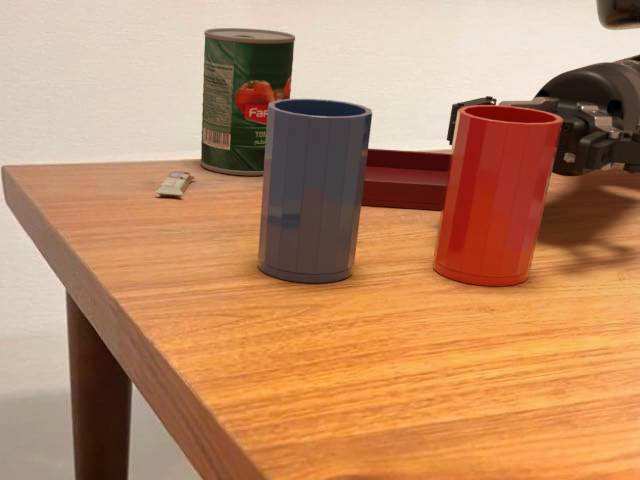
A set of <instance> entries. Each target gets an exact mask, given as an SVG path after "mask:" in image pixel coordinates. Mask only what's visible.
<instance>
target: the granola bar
mask: <svg viewBox="0 0 640 480" xmlns="http://www.w3.org/2000/svg"><path fill="white" fill-rule="evenodd" d="M195 179H196V177H195V176H193V175H191V173H190V172H186V171H171V172H170V173H169V174H168V176H167V177H166V178H165V179H164V181H163V182H162V183H161V185H160V187H159V188H158V189H157V190H155V192H154V193H155V194H158V195H160V196H161V197H169V196H175V197H174V198H181V197H182V196H184V193H185V191H186V190H187V188H188V187H189V185H190V184H191V181H193V180H195ZM189 183H190V184H189ZM187 186H188V187H187ZM185 189H186V190H185ZM183 192H184V193H183ZM181 195H182V196H181Z"/></svg>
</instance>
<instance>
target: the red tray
mask: <svg viewBox="0 0 640 480" xmlns="http://www.w3.org/2000/svg"><path fill="white" fill-rule="evenodd" d="M450 155H451V153H444V152H432V151H431V152H429V151H414V150H399V149H385V148H369V147H368V154H367V162H366V170H365V179H364V187H363V195H362V203H361V206H369V207H383V208H395V209H396V208H397V209H410V210H411V209H413V210H426V211H441V209H442V203H443V197H444V191H445V185H446V179H447V173H448V167H449V161H450Z"/></svg>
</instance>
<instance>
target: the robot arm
mask: <svg viewBox="0 0 640 480" xmlns="http://www.w3.org/2000/svg"><path fill="white" fill-rule="evenodd" d="M595 3H596V4H595V5H596V13H597V18H598V21H599V23H600V25H601V27H602V28H604V29H606V30H610V31H623V30H624V31H625V30H633V29H634V30H635V29H640V0H595ZM497 101H498V99H497V98H494V97H493V96H491V95H486V96H485V97H479V98H475V99H470V100H467V101H461V102H457V103H453V104H451V111H450V116H449V122H448V129H447V135H446V141H447V142H448V145H449V146H452V143H453V137H454V131H455V125H456V119H457V113H458V109H460V108H462V107H466V106H474V105H499V106H511V107H512V106H513V107H521V108H529V109H535V110H540V111H545V112H549V113H552V114H555V115H558V116H560V117H561V118H562V119H563V124H562V129H561V133H560V138H559V142H558V147H557V151H556V156H555V160H554V165H553V169H552V173H553V174H555V175H558V176H562V177H579V176H585V175H588V174H590V173H593V172H594V171H596V170H599V171H603V172H604V171H605V172H606V171H609V170H613V169H614V166H615V165H614V164H623V167H622V168H623V169H622V170H623V171H624V172H627V174H632V175H634V174H636V173H637V174H639V173H640V53H639V54H637V55H633V56H629V57H625V58H621V59H617V60H615V61H611V62H610V61H609V62H607V61H605V62H604V61H603V62H596V63H593V64H588V65H585V66H581V67H577V68H574V69H571V70H567V71H565V72H562V73H560V74H557V75H556V76H554V77H553V78H551V79H550V80H549V81H547V82H546V83H545V84H544V85H543V86H541V88H540V89H539V91H537V93H536V94H535V96H534V97H533V98H532V99H531V100H502V101H500V102H499V103H498V104H497Z"/></svg>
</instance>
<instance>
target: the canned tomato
mask: <svg viewBox="0 0 640 480" xmlns="http://www.w3.org/2000/svg"><path fill="white" fill-rule="evenodd" d="M203 35H204V52H203V74H202V75H203V76H202V77H203V84H202V86H203V87H202V113H201V117H202V121H201V142H200V143H201V148H200V149H201V151H200V154H201V156H200V161H199V162H200V163H199V164H200V165H201V166H202V167H203V168H204V169H207V170H209V171H212V172H216V173H220V174H226V175H233V176H250V177H251V176H252V177H254V176H255V177H256V176H257V177H258V176H263V175H264V160H265V145H266V129H267V114H268V105H269V103H270V102H274V101H277V100H285V99H291V92H292V75H293V63H294V50H295V41H296V36H295V35H294V34H293V33H288V32H284V31H278V30H272V29H271V30H270V29H269V30H268V29H259V28H241V27H216V28H208V29H205V30H204V34H203Z"/></svg>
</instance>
